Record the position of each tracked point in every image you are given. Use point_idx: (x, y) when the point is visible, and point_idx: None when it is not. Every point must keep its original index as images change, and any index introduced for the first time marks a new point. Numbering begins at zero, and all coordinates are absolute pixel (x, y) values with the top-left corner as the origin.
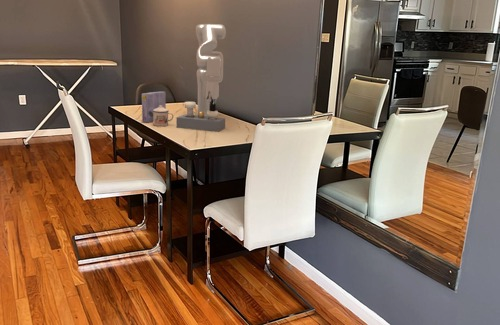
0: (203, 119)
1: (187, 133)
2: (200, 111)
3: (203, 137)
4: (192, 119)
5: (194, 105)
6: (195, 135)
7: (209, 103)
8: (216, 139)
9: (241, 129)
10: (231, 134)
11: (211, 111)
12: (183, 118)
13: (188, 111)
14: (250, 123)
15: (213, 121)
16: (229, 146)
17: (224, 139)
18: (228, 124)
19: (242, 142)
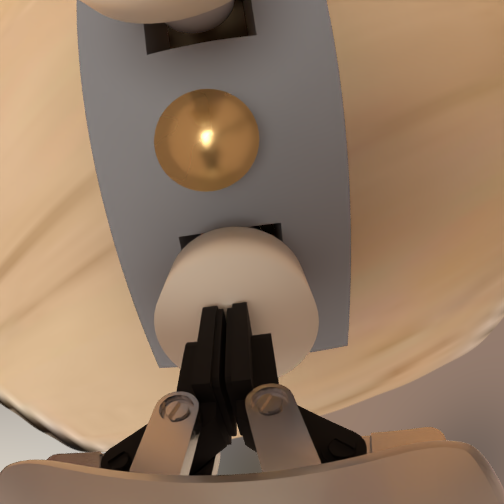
0: (136, 219)
1: (7, 179)
2: (229, 111)
3: (14, 307)
4: (88, 105)
5: (134, 6)
6: (8, 250)
7: (155, 408)
8: (39, 367)
9: (334, 378)
10: (172, 391)
11: (186, 341)
12: (78, 11)
13: None
14: (493, 329)
15: (145, 330)
16: (25, 418)
17: (67, 392)
18: (449, 253)
19: (92, 441)
